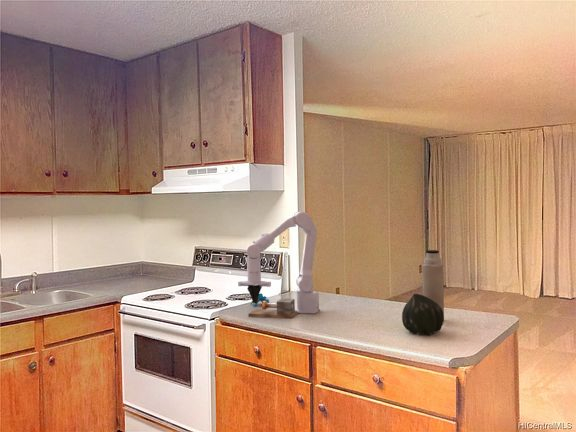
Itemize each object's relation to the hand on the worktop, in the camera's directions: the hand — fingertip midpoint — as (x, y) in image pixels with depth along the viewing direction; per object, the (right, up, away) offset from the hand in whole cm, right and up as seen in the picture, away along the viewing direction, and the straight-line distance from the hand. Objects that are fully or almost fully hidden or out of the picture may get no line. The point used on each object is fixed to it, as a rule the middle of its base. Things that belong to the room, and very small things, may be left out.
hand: (255, 302), depth 206 cm
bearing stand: (+8, -5, -2) cm, 9 cm away
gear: (+1, -5, +18) cm, 18 cm away
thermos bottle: (+72, -4, -18) cm, 75 cm away
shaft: (+10, -3, -3) cm, 11 cm away
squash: (+64, -5, -34) cm, 72 cm away
